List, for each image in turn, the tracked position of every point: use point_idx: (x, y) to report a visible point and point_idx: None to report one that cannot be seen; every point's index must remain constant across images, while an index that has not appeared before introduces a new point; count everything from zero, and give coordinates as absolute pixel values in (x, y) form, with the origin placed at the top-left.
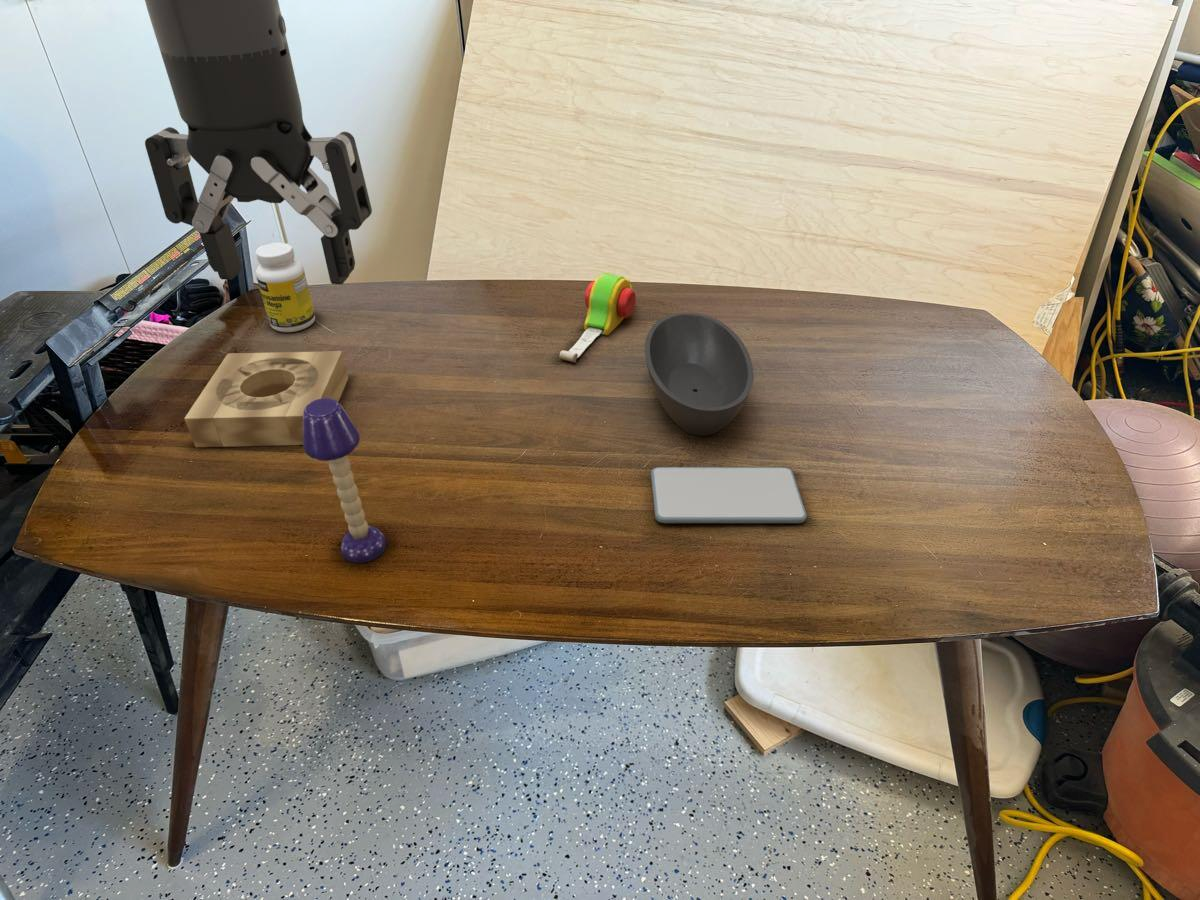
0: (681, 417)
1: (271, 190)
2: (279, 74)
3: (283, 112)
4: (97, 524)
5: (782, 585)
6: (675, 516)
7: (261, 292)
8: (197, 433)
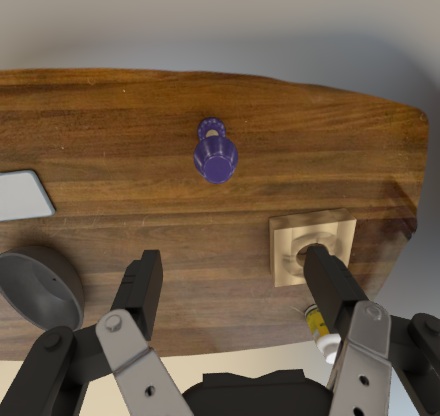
0: (39, 251)
1: (216, 407)
2: None
3: None
4: (388, 135)
5: None
6: (20, 174)
7: None
8: (345, 213)
